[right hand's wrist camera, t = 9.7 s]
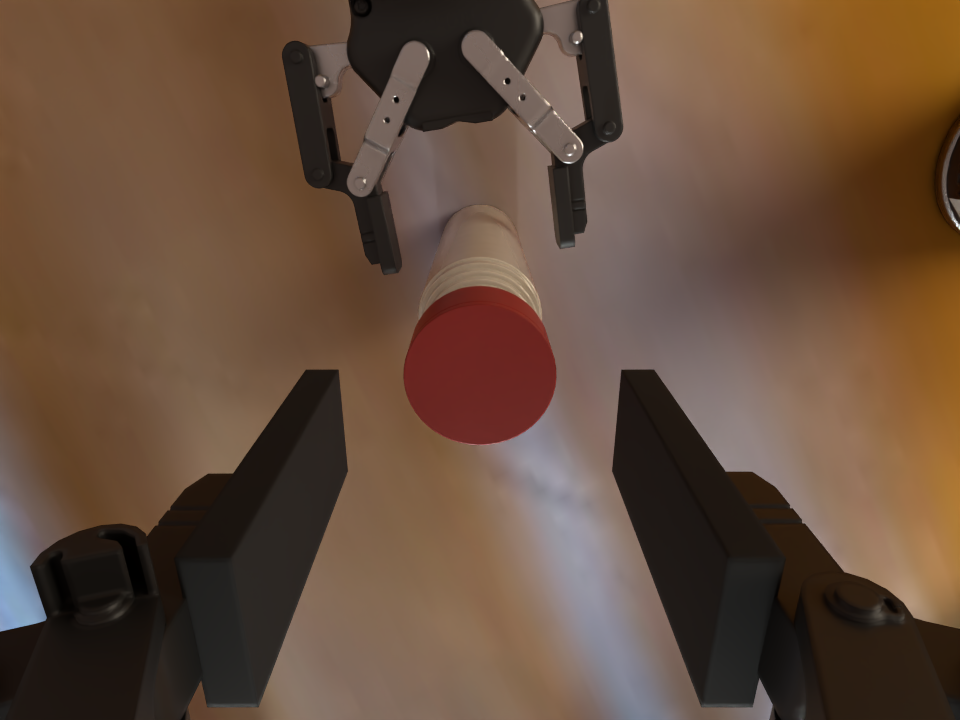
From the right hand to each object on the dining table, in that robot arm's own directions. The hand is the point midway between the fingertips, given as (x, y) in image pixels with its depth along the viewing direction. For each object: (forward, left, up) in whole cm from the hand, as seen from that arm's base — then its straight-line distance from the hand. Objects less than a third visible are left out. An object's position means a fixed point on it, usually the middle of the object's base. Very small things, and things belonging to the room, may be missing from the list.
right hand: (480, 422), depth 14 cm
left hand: (0, 0, -17) cm, 17 cm away
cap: (0, 0, -3) cm, 3 cm away
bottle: (0, 0, -23) cm, 23 cm away
